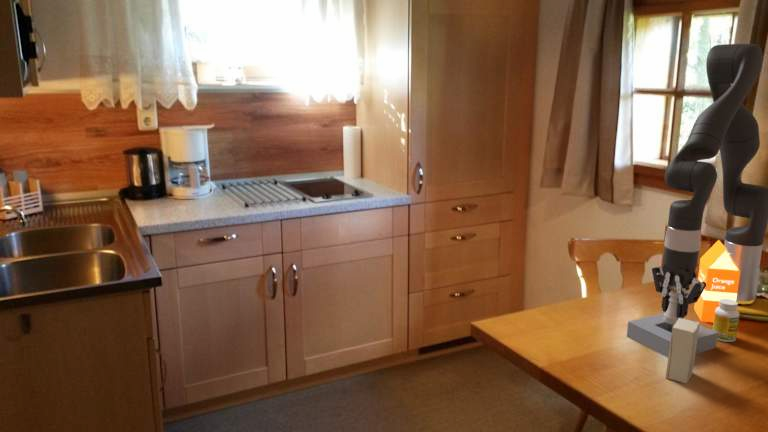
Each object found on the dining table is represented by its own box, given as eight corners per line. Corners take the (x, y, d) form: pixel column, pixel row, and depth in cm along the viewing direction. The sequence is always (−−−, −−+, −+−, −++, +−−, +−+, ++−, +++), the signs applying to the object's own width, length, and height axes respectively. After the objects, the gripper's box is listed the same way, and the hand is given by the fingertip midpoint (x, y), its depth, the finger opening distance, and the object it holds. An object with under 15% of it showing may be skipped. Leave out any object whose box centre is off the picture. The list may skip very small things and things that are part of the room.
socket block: (666, 325, 162) (668, 311, 161) (715, 348, 150) (717, 332, 149) (626, 336, 156) (628, 321, 155) (674, 360, 144) (676, 344, 143)
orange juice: (724, 311, 171) (734, 240, 166) (733, 324, 163) (744, 250, 158) (693, 308, 173) (702, 238, 168) (700, 321, 165) (710, 248, 160)
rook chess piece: (680, 327, 149) (684, 295, 147) (660, 322, 151) (663, 291, 149) (684, 321, 152) (688, 289, 150) (665, 316, 155) (668, 285, 153)
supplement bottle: (718, 331, 159) (724, 295, 157) (740, 339, 155) (745, 302, 152) (706, 336, 156) (711, 300, 154) (728, 344, 152) (733, 307, 150)
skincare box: (672, 367, 141) (678, 316, 138) (693, 373, 139) (700, 321, 136) (665, 378, 136) (671, 326, 133) (687, 384, 134) (694, 332, 131)
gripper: (720, 251, 143) (710, 322, 147) (668, 235, 155) (660, 301, 159) (697, 256, 139) (687, 328, 144) (646, 239, 152) (638, 306, 156)
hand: (673, 313), depth 151 cm, fingers closed on rook chess piece, 3 cm apart
